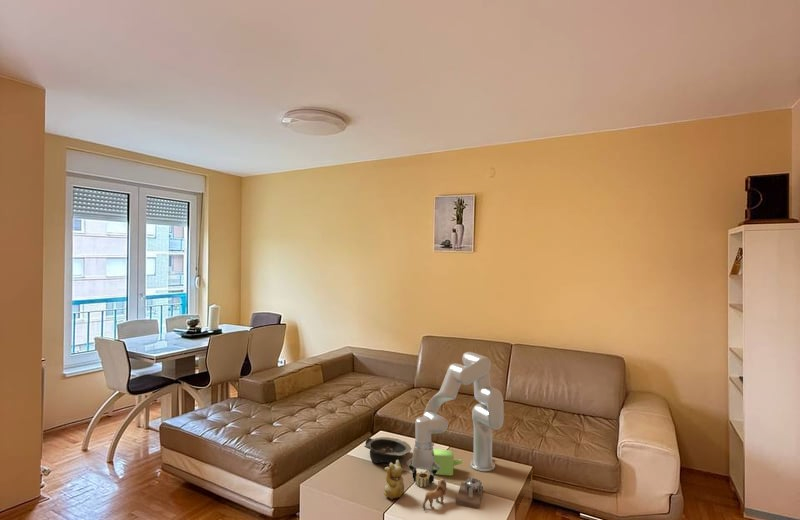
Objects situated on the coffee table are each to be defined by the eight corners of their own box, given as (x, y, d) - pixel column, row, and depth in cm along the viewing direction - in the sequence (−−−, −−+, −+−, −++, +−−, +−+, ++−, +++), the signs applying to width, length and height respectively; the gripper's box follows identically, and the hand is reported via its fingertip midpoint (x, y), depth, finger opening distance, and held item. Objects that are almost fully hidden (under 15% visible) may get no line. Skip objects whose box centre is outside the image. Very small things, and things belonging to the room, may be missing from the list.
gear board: (461, 486, 198) (461, 473, 198) (482, 490, 195) (483, 477, 195) (455, 504, 184) (455, 490, 184) (478, 508, 181) (478, 494, 181)
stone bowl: (357, 465, 217) (358, 446, 218) (374, 448, 241) (375, 431, 242) (403, 472, 210) (404, 453, 210) (416, 454, 234) (416, 436, 234)
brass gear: (417, 477, 205) (417, 470, 205) (432, 480, 203) (432, 472, 203) (413, 485, 198) (413, 478, 198) (428, 488, 196) (428, 480, 196)
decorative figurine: (395, 488, 196) (395, 456, 196) (409, 494, 191) (409, 461, 191) (381, 497, 189) (381, 463, 189) (395, 504, 184) (395, 469, 183)
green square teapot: (461, 467, 217) (461, 449, 218) (462, 476, 207) (462, 457, 208) (426, 464, 219) (427, 446, 220) (425, 473, 209) (426, 454, 210)
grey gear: (464, 483, 197) (464, 475, 197) (480, 484, 197) (480, 475, 197) (466, 492, 190) (466, 483, 190) (482, 493, 189) (482, 484, 189)
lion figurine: (439, 495, 191) (439, 475, 191) (449, 500, 187) (449, 479, 187) (419, 509, 180) (419, 488, 180) (429, 515, 176) (429, 493, 176)
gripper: (442, 443, 201) (442, 480, 201) (408, 438, 207) (408, 474, 207) (439, 450, 194) (439, 488, 194) (403, 445, 200) (403, 482, 200)
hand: (423, 480), depth 201 cm, fingers closed on brass gear, 7 cm apart
